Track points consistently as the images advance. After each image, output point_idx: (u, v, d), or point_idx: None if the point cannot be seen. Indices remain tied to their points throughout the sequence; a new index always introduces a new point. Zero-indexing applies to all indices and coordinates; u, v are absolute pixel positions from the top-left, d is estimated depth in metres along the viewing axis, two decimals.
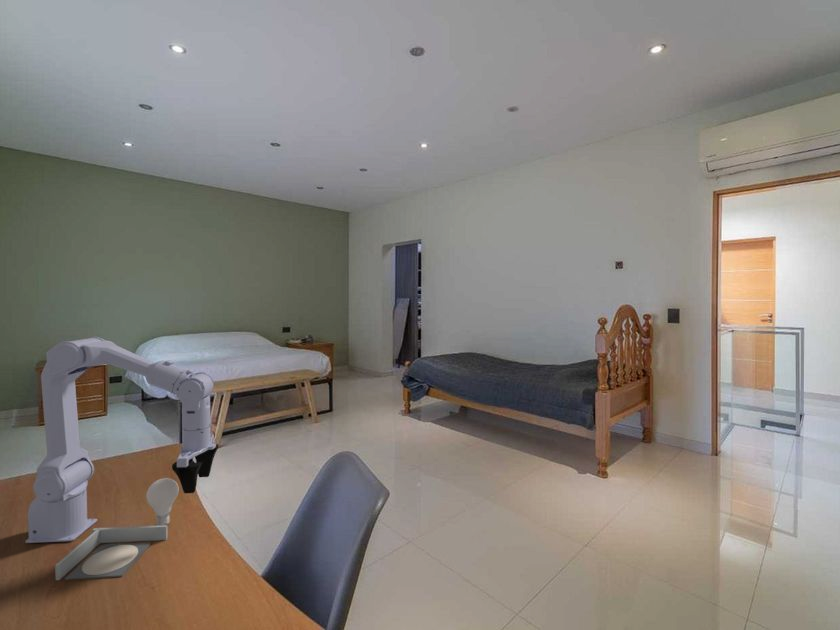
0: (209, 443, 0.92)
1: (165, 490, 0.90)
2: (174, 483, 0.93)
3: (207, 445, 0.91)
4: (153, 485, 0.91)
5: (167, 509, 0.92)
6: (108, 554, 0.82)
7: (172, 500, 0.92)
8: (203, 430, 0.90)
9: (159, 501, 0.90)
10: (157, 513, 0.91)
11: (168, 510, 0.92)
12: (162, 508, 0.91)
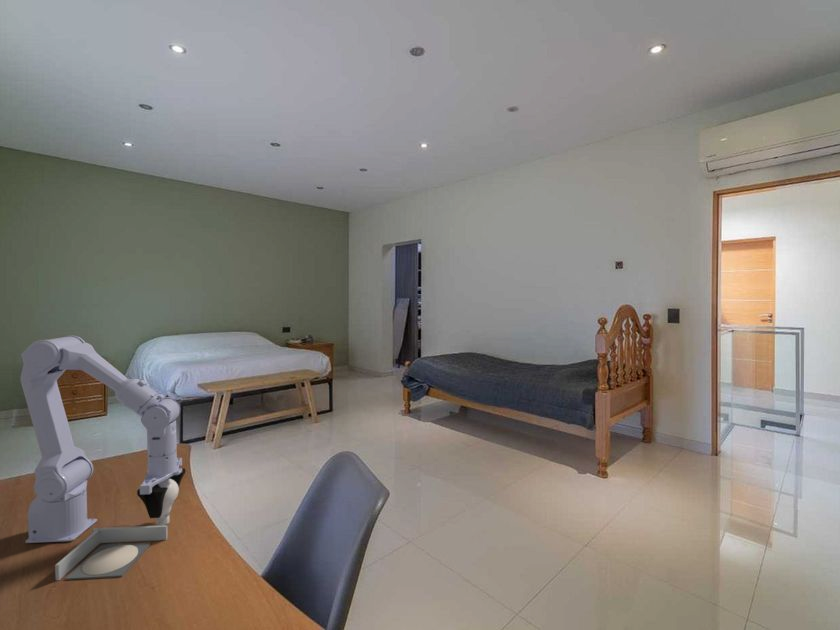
0: (175, 468, 0.92)
1: None
2: (174, 483, 0.93)
3: (173, 470, 0.92)
4: None
5: (168, 509, 0.92)
6: (108, 554, 0.82)
7: (172, 500, 0.92)
8: (168, 456, 0.90)
9: None
10: None
11: (168, 510, 0.92)
12: (162, 508, 0.91)
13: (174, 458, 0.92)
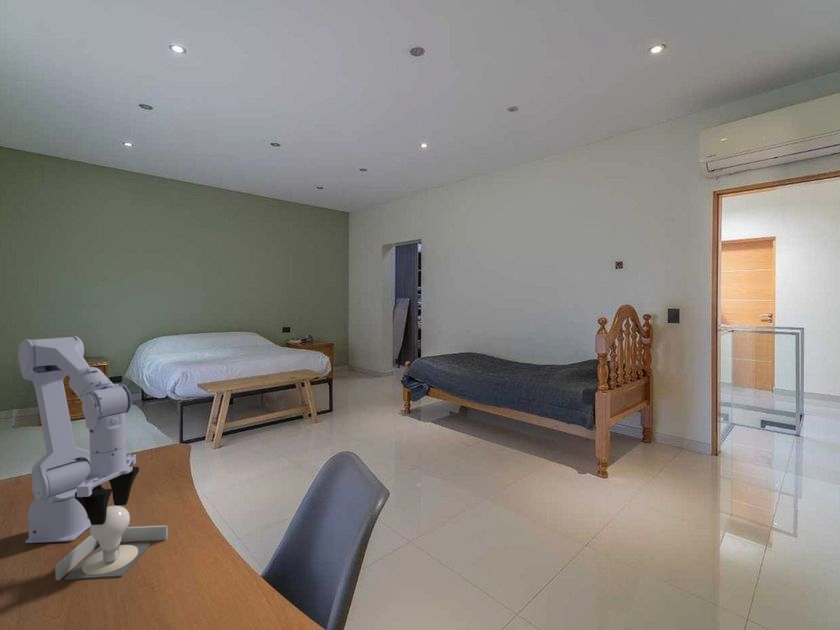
0: (123, 466, 0.80)
1: (113, 520, 0.78)
2: (124, 511, 0.80)
3: (120, 469, 0.79)
4: None
5: (116, 542, 0.79)
6: None
7: (122, 531, 0.79)
8: (114, 452, 0.78)
9: (106, 533, 0.77)
10: (103, 547, 0.78)
11: (117, 543, 0.79)
12: (110, 541, 0.78)
13: (122, 455, 0.79)
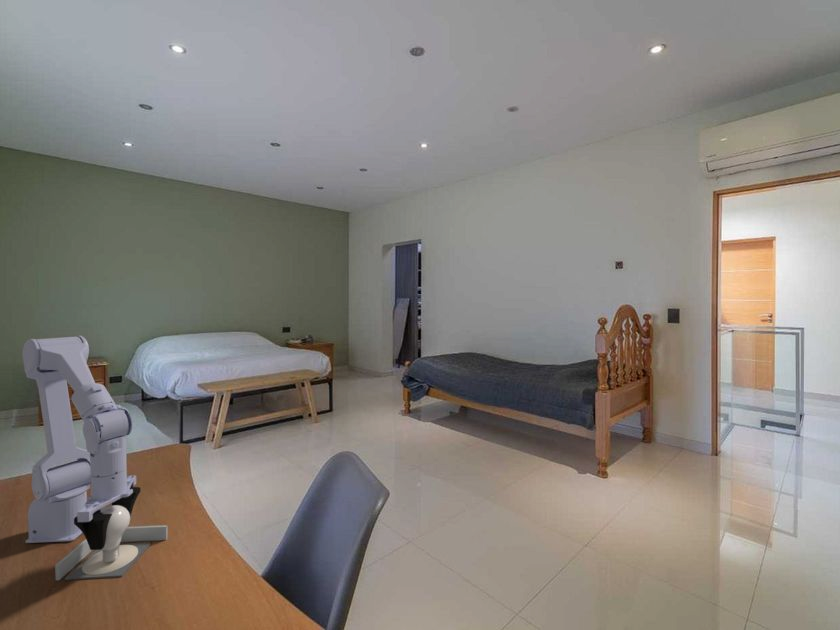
0: (124, 489, 0.80)
1: (113, 520, 0.78)
2: (125, 510, 0.80)
3: (121, 492, 0.79)
4: None
5: (116, 542, 0.79)
6: None
7: (122, 531, 0.79)
8: (115, 475, 0.78)
9: (106, 533, 0.77)
10: None
11: (117, 543, 0.79)
12: (110, 541, 0.78)
13: (123, 478, 0.79)
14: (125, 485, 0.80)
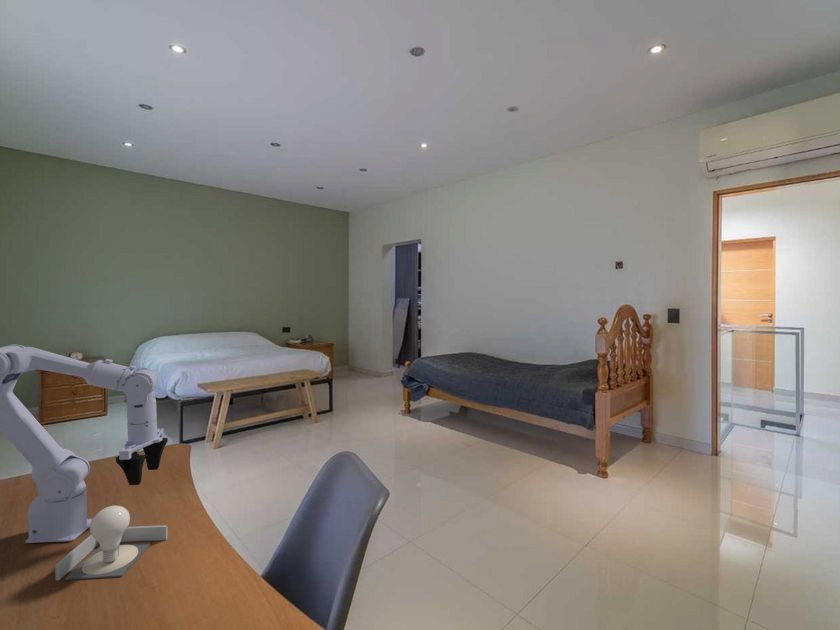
0: (155, 436, 0.94)
1: (113, 520, 0.78)
2: (124, 511, 0.80)
3: (153, 438, 0.94)
4: (98, 515, 0.78)
5: (116, 542, 0.79)
6: None
7: (122, 531, 0.79)
8: (148, 424, 0.92)
9: (106, 533, 0.77)
10: (103, 547, 0.78)
11: (117, 543, 0.79)
12: (110, 541, 0.78)
13: (154, 426, 0.94)
14: (156, 433, 0.95)
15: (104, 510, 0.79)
